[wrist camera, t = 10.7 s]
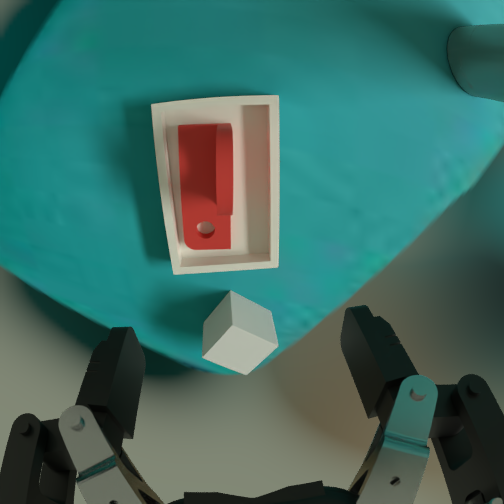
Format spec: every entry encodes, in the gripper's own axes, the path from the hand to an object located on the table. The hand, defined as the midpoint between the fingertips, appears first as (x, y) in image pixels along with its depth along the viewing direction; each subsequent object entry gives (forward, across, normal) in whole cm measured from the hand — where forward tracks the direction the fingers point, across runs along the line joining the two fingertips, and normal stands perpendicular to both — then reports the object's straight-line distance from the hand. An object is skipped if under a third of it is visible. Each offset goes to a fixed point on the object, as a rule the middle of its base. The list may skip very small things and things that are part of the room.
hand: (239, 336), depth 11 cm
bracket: (+20, +2, 0) cm, 20 cm away
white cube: (+20, +1, +17) cm, 27 cm away
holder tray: (+20, +1, 0) cm, 20 cm away
